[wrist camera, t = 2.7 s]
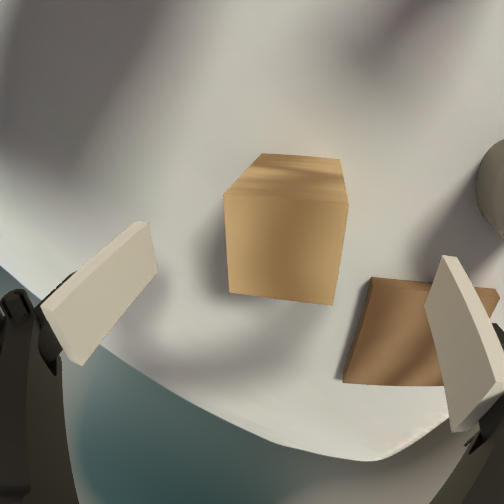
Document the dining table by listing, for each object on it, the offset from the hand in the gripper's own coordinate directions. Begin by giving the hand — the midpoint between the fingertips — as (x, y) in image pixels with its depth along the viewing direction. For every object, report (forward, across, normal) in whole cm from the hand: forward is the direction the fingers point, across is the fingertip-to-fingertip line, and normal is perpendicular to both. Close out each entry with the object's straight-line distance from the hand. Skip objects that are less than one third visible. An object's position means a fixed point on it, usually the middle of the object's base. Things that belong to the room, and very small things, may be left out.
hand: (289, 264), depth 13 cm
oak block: (+8, 0, 0) cm, 8 cm away
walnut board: (+9, +12, -12) cm, 19 cm away
